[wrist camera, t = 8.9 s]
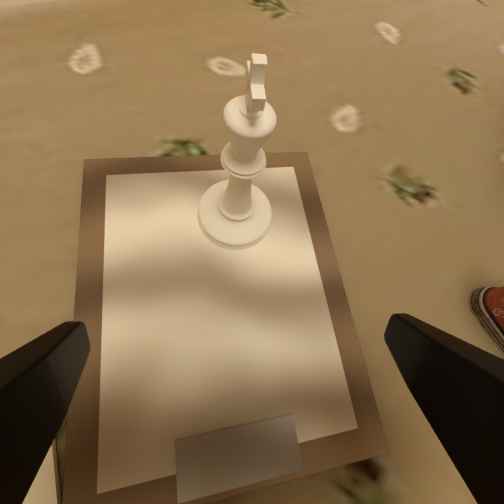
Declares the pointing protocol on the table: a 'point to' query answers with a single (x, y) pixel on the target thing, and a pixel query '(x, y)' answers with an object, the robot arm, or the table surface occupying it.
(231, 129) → the chess piece
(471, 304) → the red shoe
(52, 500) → the plate
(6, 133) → the table surface
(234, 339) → the clipboard
